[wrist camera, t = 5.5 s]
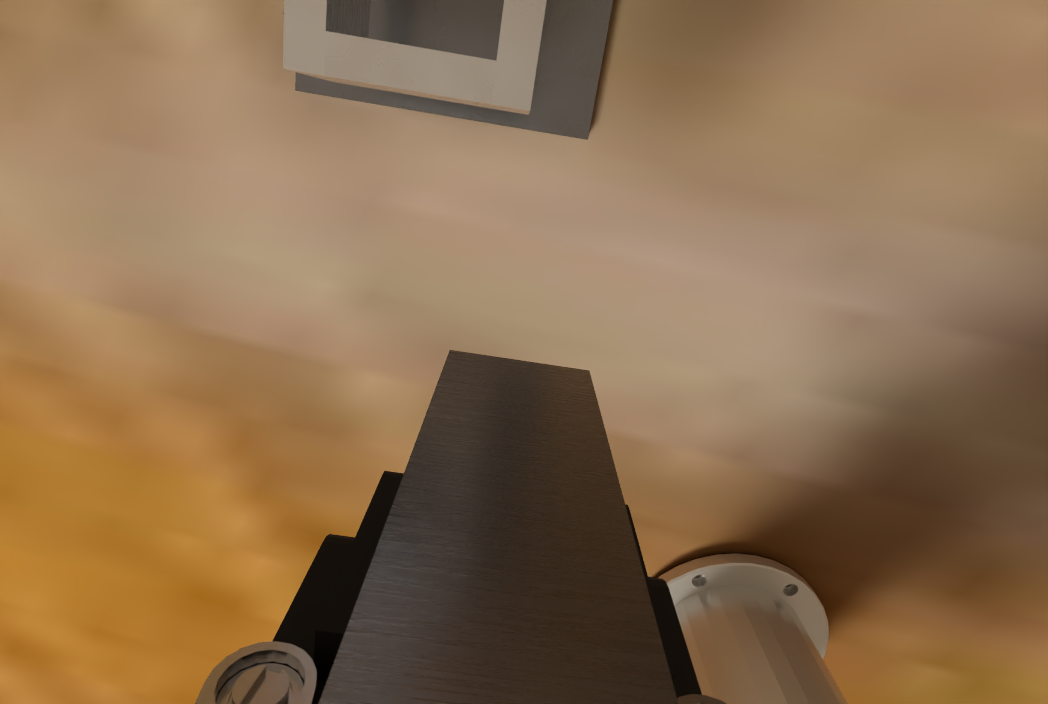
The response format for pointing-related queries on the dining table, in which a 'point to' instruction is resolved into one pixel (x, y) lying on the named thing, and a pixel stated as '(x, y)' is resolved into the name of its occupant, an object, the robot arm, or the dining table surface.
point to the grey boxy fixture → (455, 57)
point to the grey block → (505, 557)
